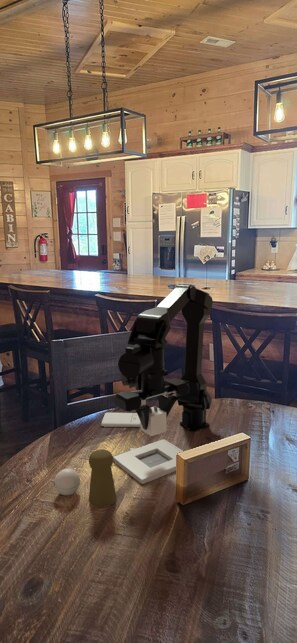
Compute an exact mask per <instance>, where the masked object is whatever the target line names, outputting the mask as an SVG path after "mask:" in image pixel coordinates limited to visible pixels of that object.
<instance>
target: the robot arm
mask: <svg viewBox="0 0 297 643" xmlns="http://www.w3.org/2000/svg"><path fill="white" fill-rule="evenodd" d="M213 302H214V301H213V297H212V296H211V295H210V293H208V292H206V291H204V290H201V289H199V288H197V287H196V286H194V285H192V284H181V283H179V284H176V285H175V286H174V288H173V290H172V291H171V292H170V293H169V294H168V295H167V296H166V297H165V298H164V299H163V300H162V301H161V302H160V303H159V304H158V305H157V306H155V307H153V308H150V309H146V310H144V311H143V312H141V313H139V314H138V315H137V317H136V319H135V321H134V323H133V325H132V326H133V327H132V329H131V331H130V334H129V337H128V339H127V340H128V341H127V345H129V346H127V347H125V349H124V350H125V353H123V354H121V355H120V357H119V359H118V362H117V366H118V370H119V372H120V374H121V382H122V385H123V387H126V386H128V390H125V391H121V392H117V393H116V394H115V395H114V397H113V400H114V402H113V404H114V405H115V406H116V407H118V408H119V409H122V410H123V411H124V412H132V411H135V413H137V414H138V417H139V419H140V422H141V424H142V427H143V429H145V430H147V427H148V420H149V411H150V408H151V407H150V406H149V405H148V404H147V400H148V399H152V398H157V401H158V408H159V409H161V410H163V411H165V412H166V419H167V418H168V416H169V413H170V412H171V410H172V408H173V407H174V405H175V403H176V402H177V404H178V406H181V407H182V412H181V415H182V416H181V421H180V422H179V425H181V427H182V426H183V427H185V428H186V429H188V430H190V431H191V432H197V431H199V430H201V429H204V428H207V427H210V423H209V422H207V410H210V409H211V405H212V400H213V399H212V396H211V395H210V393H209V392H208V390H207V381H206V379H205V378H204V376H203V373H202V366H203V349H204V348H203V346H204V345H203V344H204V329H205V326H204V325H205V322H206V321H207V320H208V319H209V317H210V316H211V311H212V310H211V309H212V307H213ZM180 311H181V316H182V317H183V319H184V321H185V323H186V330H185V332H186V334H185V352H184V371H183V374H182V375H181V377H180V378H177V377H174V378H171V379H170V378H169V379H167V380H165V376H168V370H166V369H165V345H168V340H167V339H166V338H167V335H168V334H169V333H170V330H171V329H172V328H171V322H172V321H173V319H174V318H175V317H176V316H177V315H178V314H179V313H180ZM139 337H140V338H139ZM132 388H135V390H136V391H140V392H137V393H135V392H133V391H131V390H129V389H132Z"/></svg>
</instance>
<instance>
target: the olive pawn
mask: <svg viewBox="0 0 297 643" xmlns="http://www.w3.org/2000/svg"><path fill="white" fill-rule="evenodd" d="M113 456H114V455H113V453H111V451H109V450H107V449H104V448H103V449H102V448H101V449H96V450H93V451H92V452H91V453H90V454H89V456H88V464H89V467H90V468H91V471H90V472H91V473H90V481H89V483H90V484H89V492H88V493H89V494H88V502H89V504H90V506H93V507H95V508H106V507H107V508H108V507H109V506H111V505H113V504H115V502H117V492H116V486H115V481H114V478H113V471H112V466H113V463H114V462H113Z"/></svg>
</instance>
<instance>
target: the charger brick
mask: <svg viewBox="0 0 297 643" xmlns="http://www.w3.org/2000/svg"><path fill="white" fill-rule="evenodd" d="M139 428H140V431H141V432H143V433H145V434H147V435H148V436H150V437H153V436H157V435H160V434H162V433H165V432H166V433H167V418H166V412H165V411H163V410H161V409H159V406H158V407H157V406H156V405H155V406H152V407H150V411H149V420H148V427H147V430H145V429H143V427H142V424H141V422H140V427H139Z"/></svg>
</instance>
